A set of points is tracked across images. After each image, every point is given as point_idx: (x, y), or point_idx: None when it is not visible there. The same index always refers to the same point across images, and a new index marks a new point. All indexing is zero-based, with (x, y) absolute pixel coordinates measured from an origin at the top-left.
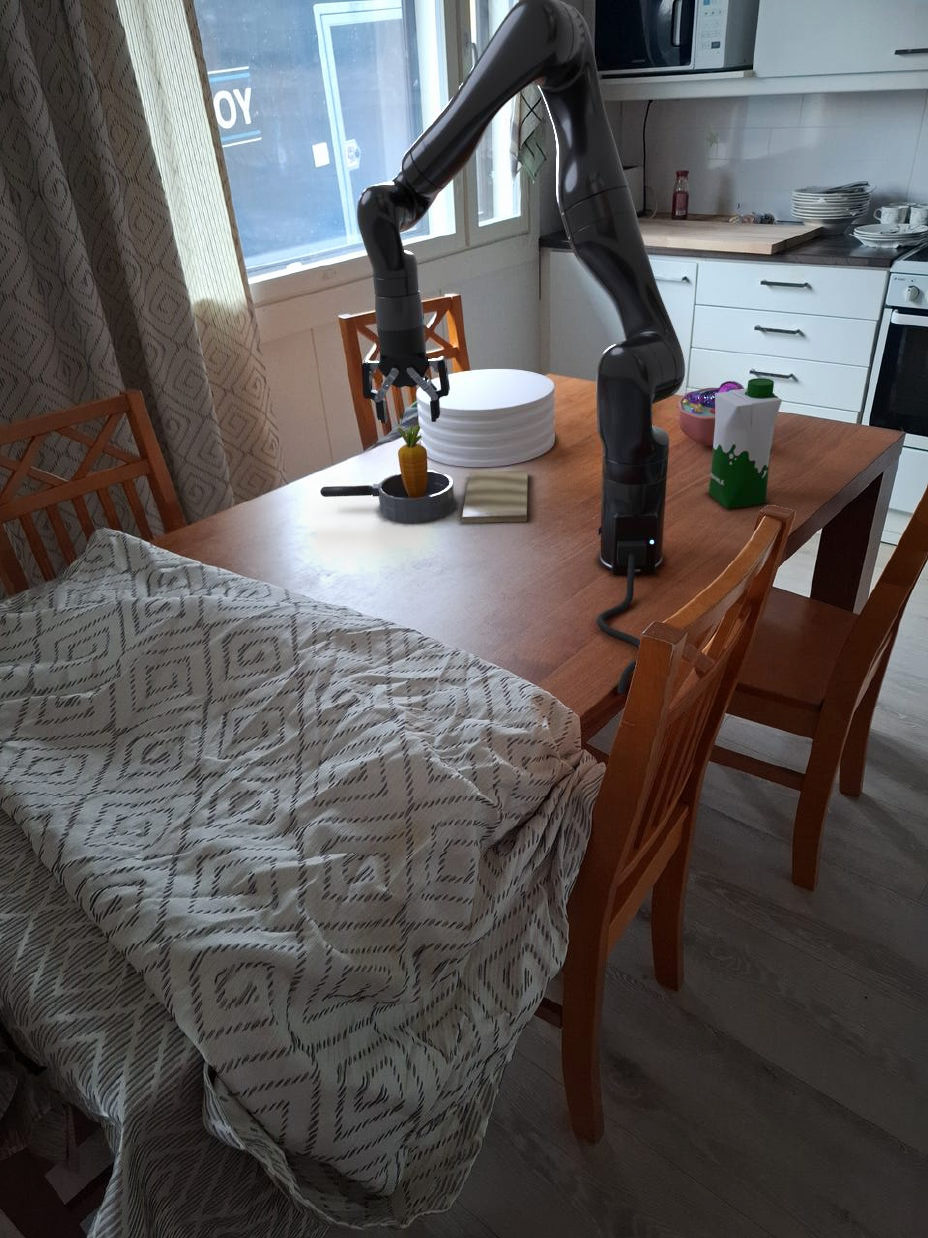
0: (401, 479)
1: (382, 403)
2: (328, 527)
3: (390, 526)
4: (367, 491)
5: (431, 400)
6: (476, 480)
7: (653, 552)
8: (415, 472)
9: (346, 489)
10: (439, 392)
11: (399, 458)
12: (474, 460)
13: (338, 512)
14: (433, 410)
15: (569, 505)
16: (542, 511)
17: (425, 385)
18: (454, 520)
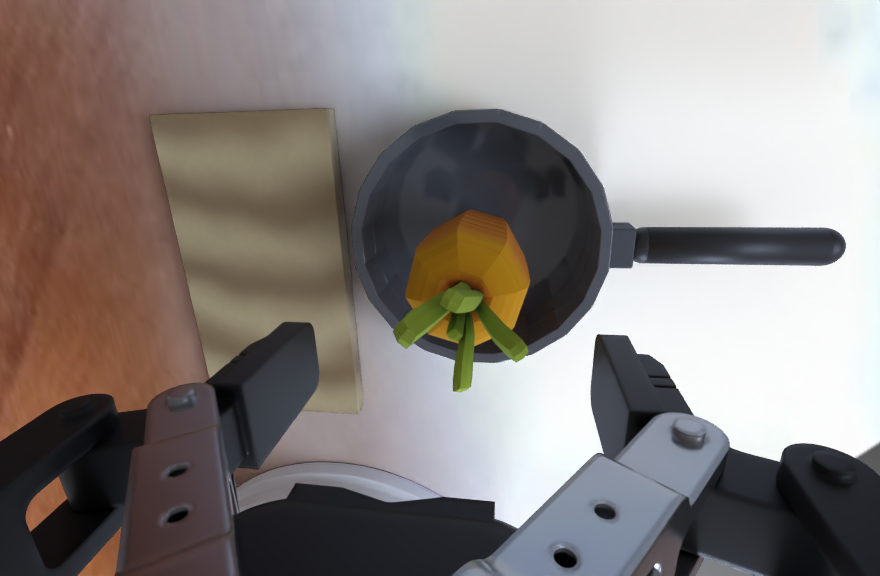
0: (537, 331)
1: (633, 406)
2: (777, 88)
3: (554, 91)
4: (651, 227)
5: (235, 399)
6: (331, 361)
7: None
8: (458, 217)
9: (737, 235)
10: (131, 432)
11: (523, 266)
12: (358, 481)
13: (742, 211)
14: (259, 349)
15: (86, 215)
16: (140, 181)
17: (156, 449)
18: (360, 131)
